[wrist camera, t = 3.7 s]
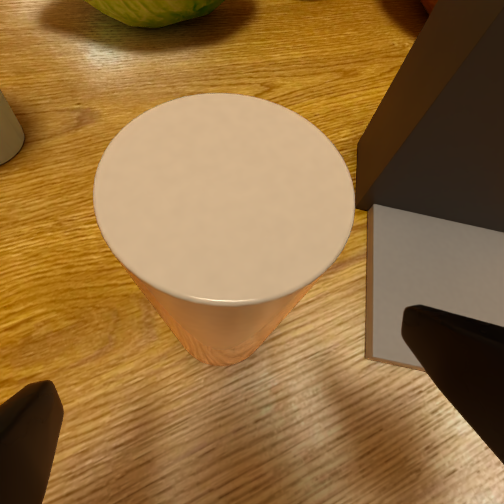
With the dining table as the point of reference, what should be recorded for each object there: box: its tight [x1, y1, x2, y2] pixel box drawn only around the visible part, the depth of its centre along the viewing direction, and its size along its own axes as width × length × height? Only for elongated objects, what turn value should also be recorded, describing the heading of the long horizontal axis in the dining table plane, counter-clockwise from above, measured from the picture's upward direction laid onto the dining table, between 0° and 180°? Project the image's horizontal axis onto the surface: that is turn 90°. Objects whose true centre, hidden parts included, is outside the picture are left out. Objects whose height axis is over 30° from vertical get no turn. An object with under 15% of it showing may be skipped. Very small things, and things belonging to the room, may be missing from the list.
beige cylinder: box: [93, 93, 355, 366], centre depth 12 cm, size 6×6×13 cm
